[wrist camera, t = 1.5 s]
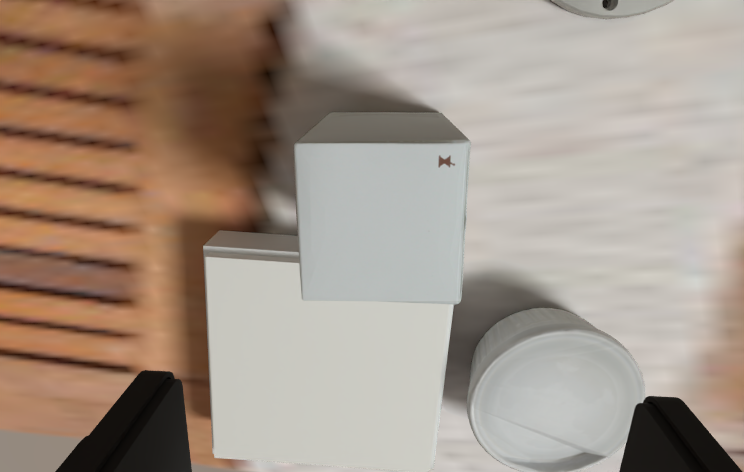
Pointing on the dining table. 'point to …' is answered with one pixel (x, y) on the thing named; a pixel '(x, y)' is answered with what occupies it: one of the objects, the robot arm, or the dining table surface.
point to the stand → (317, 365)
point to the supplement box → (382, 208)
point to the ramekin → (551, 392)
